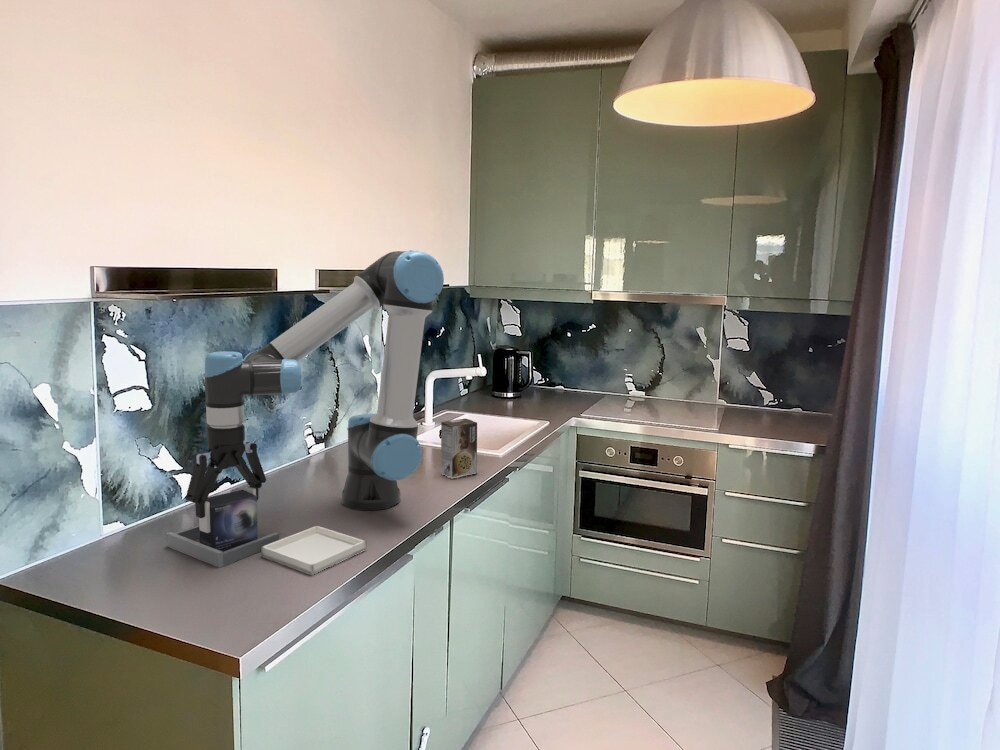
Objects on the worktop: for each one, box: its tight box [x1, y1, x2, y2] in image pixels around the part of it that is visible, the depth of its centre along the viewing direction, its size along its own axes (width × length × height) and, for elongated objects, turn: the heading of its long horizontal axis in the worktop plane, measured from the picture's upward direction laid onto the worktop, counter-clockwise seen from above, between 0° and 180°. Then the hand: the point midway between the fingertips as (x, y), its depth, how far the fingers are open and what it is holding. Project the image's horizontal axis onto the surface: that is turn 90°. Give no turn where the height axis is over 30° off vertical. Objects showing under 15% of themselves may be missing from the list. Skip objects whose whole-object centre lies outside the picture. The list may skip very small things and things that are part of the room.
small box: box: [199, 489, 259, 552], centre depth 152 cm, size 11×6×10 cm, turn 139°
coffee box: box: [440, 418, 478, 477], centre depth 206 cm, size 9×6×16 cm
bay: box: [165, 524, 280, 568], centre depth 151 cm, size 15×18×3 cm
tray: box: [260, 525, 367, 576], centre depth 148 cm, size 15×15×2 cm
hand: (228, 523), depth 152 cm, fingers closed on small box, 11 cm apart
